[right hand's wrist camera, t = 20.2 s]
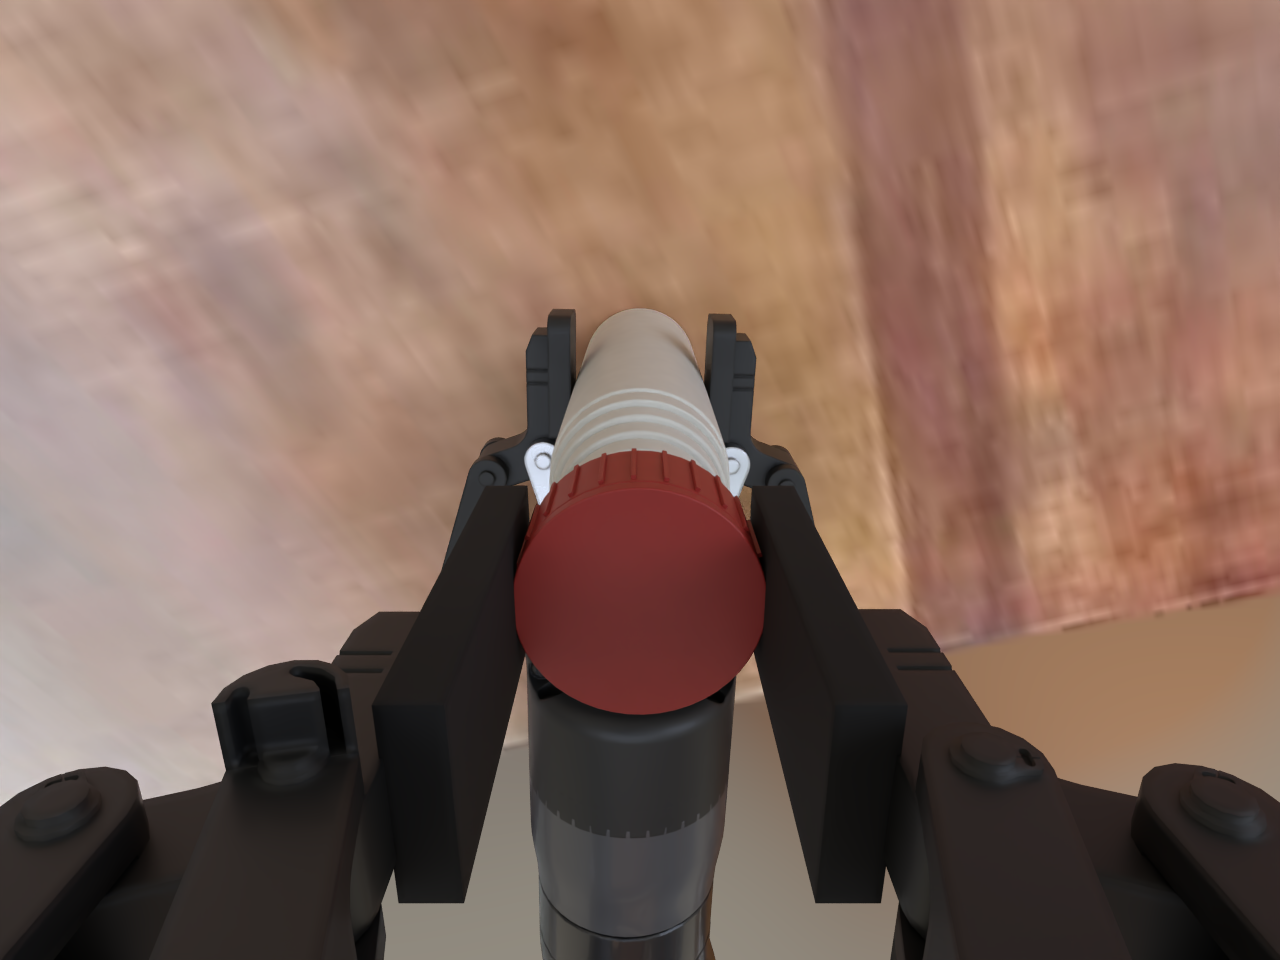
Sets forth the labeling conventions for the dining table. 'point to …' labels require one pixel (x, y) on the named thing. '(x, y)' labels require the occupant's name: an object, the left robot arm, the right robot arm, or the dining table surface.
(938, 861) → the right robot arm
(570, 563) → the cap
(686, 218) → the dining table surface
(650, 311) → the bottle
